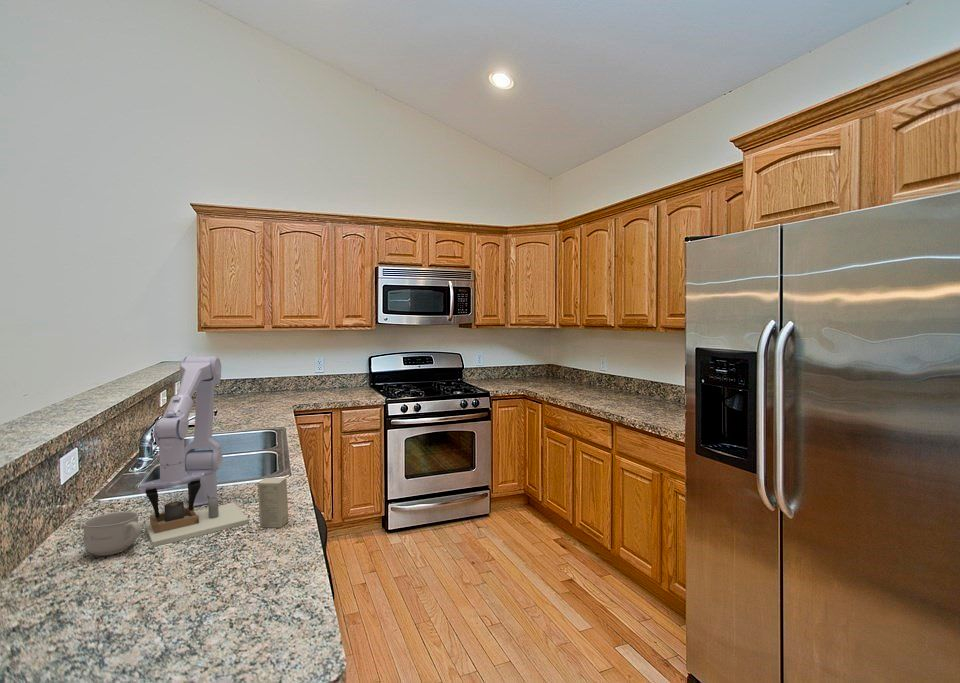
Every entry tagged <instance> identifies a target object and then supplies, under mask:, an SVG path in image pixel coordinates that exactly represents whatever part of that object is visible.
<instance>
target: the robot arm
mask: <svg viewBox="0 0 960 683" xmlns="http://www.w3.org/2000/svg"><path fill="white" fill-rule="evenodd" d="M179 371H180V375H181V377H182V378H181V381H180V384H179V388H178V391H177V394H176V395H173V396H171V398H170V400H169V401H168V405H167V408H166V409H165V412H164V413H163V416H162V417H161V418H159V419H158V420H156V421H155V424H154V427H153V435H154V436H153V437H154V438H155V442H156V443H155V444H156V447H158V451H159V452H158V453H159V454H158V455H159V456H158V458H159V460H158V461H159V479H154V480H150V481H147V482H141V483H139V491H140V493H141V494H142V493H145V495H146V497H147V498H148V500H149V502H150V503H151V505H152V507H153V508H152V509H153V512H154V514H155V517H156V518H159V513H160V510H159V492H158V490H160V489H161V490H162V489H165V488H171V487H177V486H181V485H182V486H183V485H187V490H188V491H187V492H188V493H187V494H188V496H186V497H185V499H186V501H187V507H188V508H189V510H190V511H191V510H194V508H195V507H198V506H203V505H208V498H207V494H212V495H213V496H214V497H218V502H221V501H222V499H221V498H220V496H219V495H218V481H217V477H218V476H217V471H219V470H220V468H221V467H222V465H223V457H224V456H223V449H222V448H223V447H222V445H221V444H220V443H219V442H217V441H216V440H214V439H213V428H214V427H213V424H214V421H213V420H214V408H215V407H214V406H215V405H214V404H215V388H216V385H218V384H221V378H222V363H221V359H220V358H219V357H218V355H217V356H216V355H213V356H186V355H185V356H183V358H182V359H181V360H180V364H179ZM195 393H196V394H195ZM194 394H195V395H196V397H195V399H196V400H195V411H194V412H195V414H194V416H195V417H194V430H193V431H194V432H193V440H192V441H191V442H189V443H188V444H186V446H185V438H186V437H187V435H188V432H189V423H190V421H189V417H190V413H191V411H192V410H193V407H194V400H193V399H192V398H193V396H194ZM199 449H200V450H199ZM204 449H205V450H204Z"/></svg>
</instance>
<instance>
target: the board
mask: <svg viewBox="0 0 960 683" xmlns="http://www.w3.org/2000/svg"><path fill="white" fill-rule="evenodd" d="M207 498H208V504H207V506H208V507H207V508H202V509H199V510H194V509H193V510H191V511H190V510H189V508H188V506H187V507H184V518H182V519H177V520H173V521H168V522H165V512H159V518H156V517H155V513H153V514H150V515H149V520H147V521H145V522H144V523H145V524H144V526H145V529H146V532H147V535H148V538H149V541H150V544H151V547H152V548H154V547H159V546H163V545H166V544H167V545H168V544H170V543H176V542H179V541H183V540H187V539H191V538H196V537H199V536H204V535H207V534H212V533H216V532H220V531H224V530H228V529H233V528H236V527H241V526H244V525H248V524H250V519H249V517H248V516H247V515H246V514H245V512H244V511H243V510H241V508H240V507H239V506H238V505H237V504H236V503H235V502H230V503H226V504H221V505H219V501H218V497H214V496H213V495H212V494H207Z"/></svg>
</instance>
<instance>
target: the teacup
mask: <svg viewBox="0 0 960 683" xmlns="http://www.w3.org/2000/svg"><path fill="white" fill-rule="evenodd" d="M139 516H140V514H139V513H138V512H136V511H130V510H129V511H117V512H116V511H114V512H108V513H103V514H101V515H100V514H99V515H96V516H93V517H91V518H90V517H89V518H88V519H87V520H85V521H83V523H82V526H83V545H84V548H85V549H86V550H87V551H88V553H92V554H93V555H95V556H97V557H98V556H99V557H100V556H101V557H104V556H111V555H114V554H119V553H121V552H124V551H125V550H127V549H128V548H130V547H131V545H133V544H134V543H135V541H136V540H137V539H138V538H139V537H140V536H141V533H142V527H141V525H140V523H139Z"/></svg>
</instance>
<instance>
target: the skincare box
mask: <svg viewBox="0 0 960 683" xmlns="http://www.w3.org/2000/svg"><path fill="white" fill-rule="evenodd" d="M257 496H258V512H259V515H258V517H259V527H260V528H275V529H276V528H282V527H283V526H285V525H286V524H287V523H288V522H289V506H288V505H289V504H288V485H287V478H286V477H265V478H263V479H261V480H260V481H258V482H257Z"/></svg>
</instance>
